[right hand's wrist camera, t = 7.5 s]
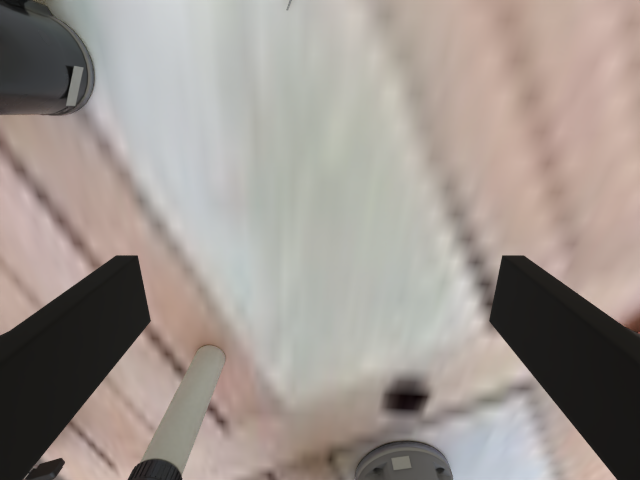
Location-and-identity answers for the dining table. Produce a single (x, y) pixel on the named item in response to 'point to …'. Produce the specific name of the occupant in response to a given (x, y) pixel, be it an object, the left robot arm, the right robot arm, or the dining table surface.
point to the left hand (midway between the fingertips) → (40, 443)
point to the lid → (155, 471)
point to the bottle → (187, 409)
